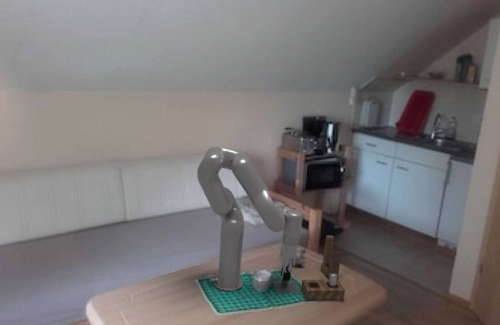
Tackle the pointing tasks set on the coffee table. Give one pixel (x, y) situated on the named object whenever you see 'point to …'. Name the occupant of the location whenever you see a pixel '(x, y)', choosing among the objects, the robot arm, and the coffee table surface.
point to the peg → (283, 283)
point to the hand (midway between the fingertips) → (285, 277)
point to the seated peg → (332, 280)
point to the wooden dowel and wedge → (330, 258)
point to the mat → (286, 287)
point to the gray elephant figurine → (300, 257)
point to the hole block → (322, 291)
